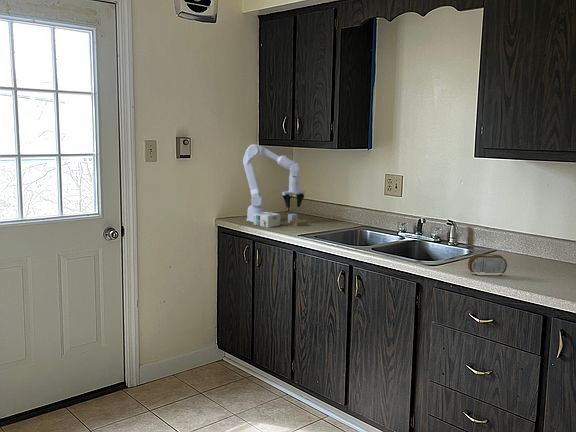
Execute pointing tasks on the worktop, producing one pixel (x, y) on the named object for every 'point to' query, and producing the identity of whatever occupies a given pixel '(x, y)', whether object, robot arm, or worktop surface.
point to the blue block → (292, 217)
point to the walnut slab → (298, 222)
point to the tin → (487, 263)
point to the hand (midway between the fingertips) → (293, 207)
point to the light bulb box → (266, 219)
